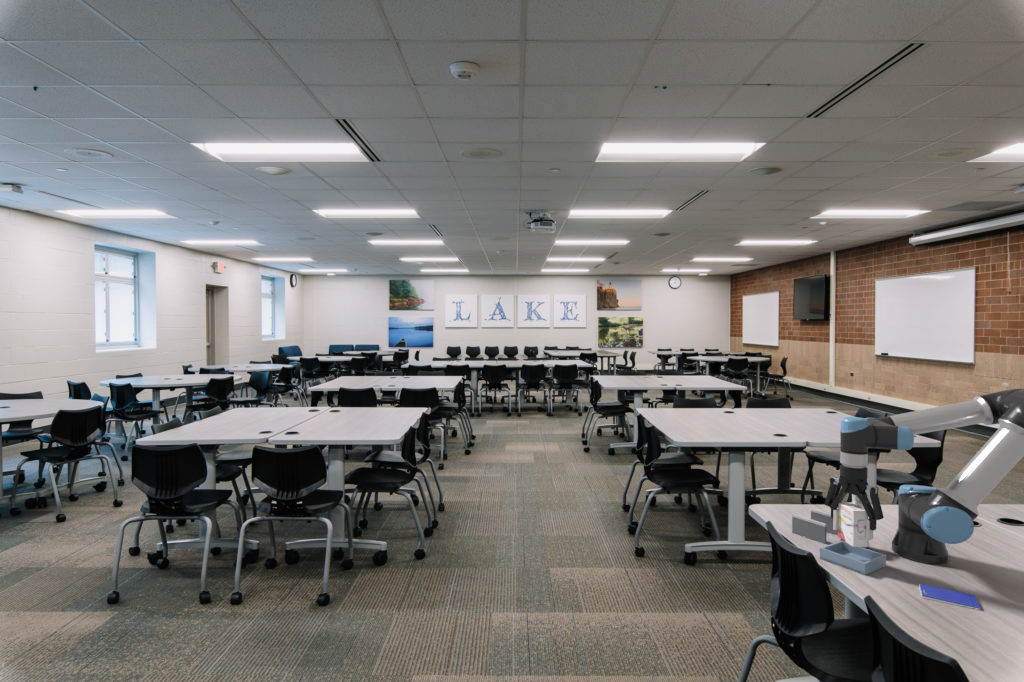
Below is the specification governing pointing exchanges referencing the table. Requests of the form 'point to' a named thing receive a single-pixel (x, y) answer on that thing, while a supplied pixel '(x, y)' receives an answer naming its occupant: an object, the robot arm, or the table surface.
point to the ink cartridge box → (852, 523)
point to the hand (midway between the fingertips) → (852, 534)
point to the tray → (853, 557)
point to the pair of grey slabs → (814, 525)
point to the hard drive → (948, 596)
